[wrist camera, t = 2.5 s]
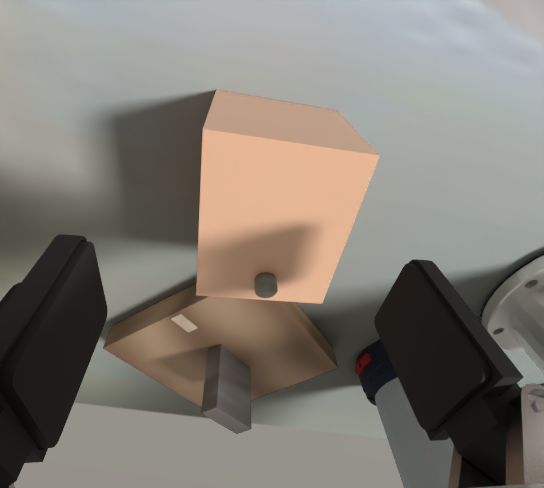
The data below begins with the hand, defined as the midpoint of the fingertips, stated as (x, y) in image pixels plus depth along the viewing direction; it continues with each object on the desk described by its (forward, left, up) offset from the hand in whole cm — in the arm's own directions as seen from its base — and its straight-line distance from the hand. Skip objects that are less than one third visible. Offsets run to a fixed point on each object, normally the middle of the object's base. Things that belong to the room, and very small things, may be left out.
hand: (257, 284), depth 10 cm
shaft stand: (+9, +12, -9) cm, 18 cm away
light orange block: (-1, +1, -9) cm, 9 cm away
